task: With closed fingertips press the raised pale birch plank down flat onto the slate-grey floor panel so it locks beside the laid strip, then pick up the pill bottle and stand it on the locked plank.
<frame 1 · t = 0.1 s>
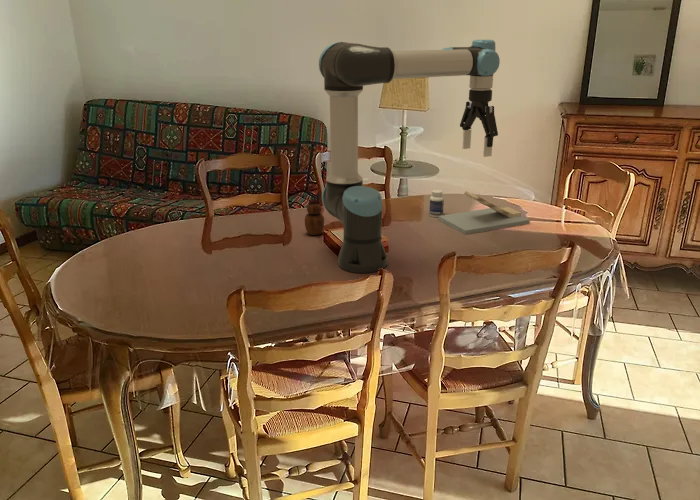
hand: (476, 152, 203), 28 cm above the table, fingers open, 13 cm apart
wooden figurine: (314, 234, 210), on the table
pill bottle: (435, 215, 228), on the table
floor panel: (483, 221, 221), on the table
plank: (488, 204, 219), point 7 cm above the table, hinge at 30.0°
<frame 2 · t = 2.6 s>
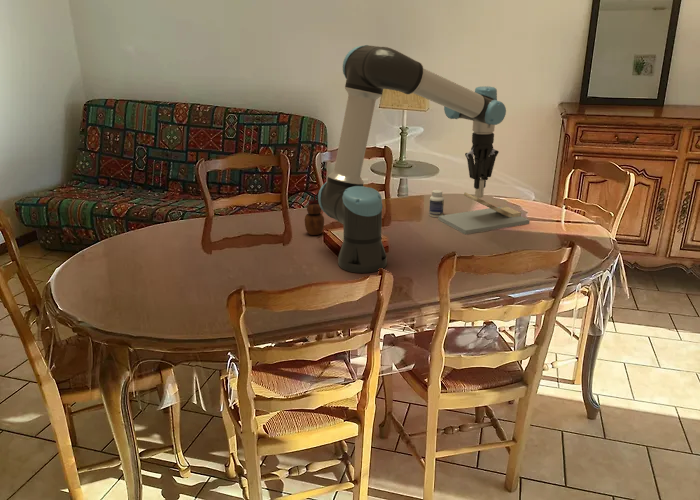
hand: (479, 196, 216), 10 cm above the table, fingers closed
plank: (487, 204, 219), point 6 cm above the table, hinge at 28.3°, touching gripper
everything else where it was.
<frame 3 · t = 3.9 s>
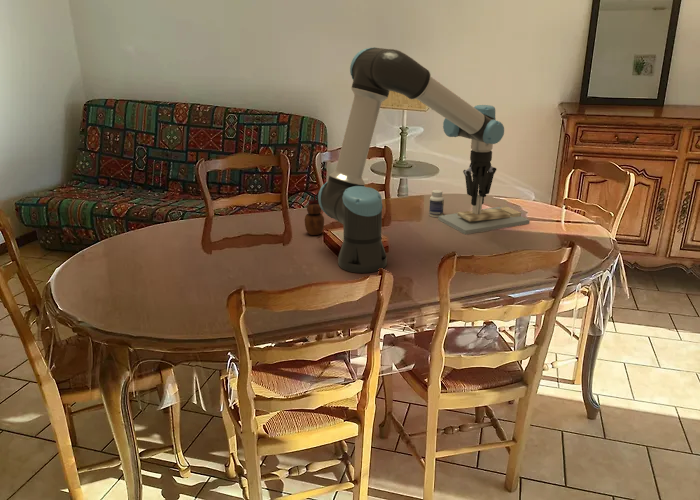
hand: (476, 213, 218), 4 cm above the table, fingers closed, pressing on plank
plank: (483, 214, 220), point 3 cm above the table, hinge at 3.2°, touching gripper
everything else where it was.
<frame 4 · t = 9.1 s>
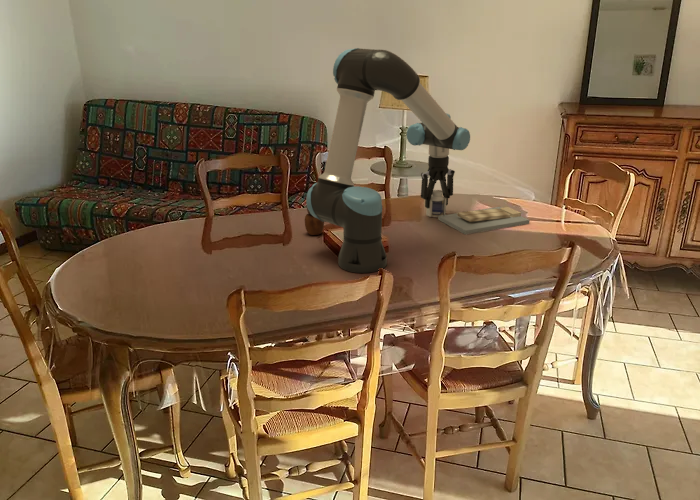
hand: (436, 214, 228), 0 cm above the table, fingers open, 5 cm apart
pill bottle: (436, 215, 228), on the table, touching gripper
plank: (483, 214, 220), point 3 cm above the table, hinge at 2.8°
everything else where it was.
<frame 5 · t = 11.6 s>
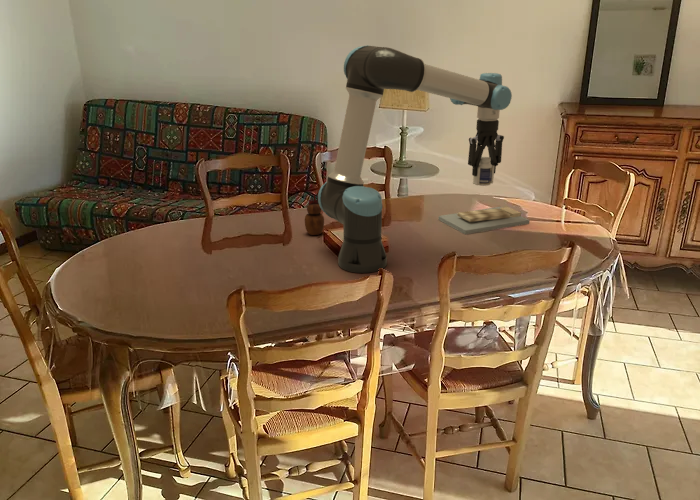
hand: (483, 183, 215), 15 cm above the table, fingers closed on pill bottle, 5 cm apart
pill bottle: (483, 184, 215), point 14 cm above the table, touching gripper
everything else where it was.
when the fingers open (4 cm above the table, at t = 13.8 s): pill bottle stays where it is, resting on plank.
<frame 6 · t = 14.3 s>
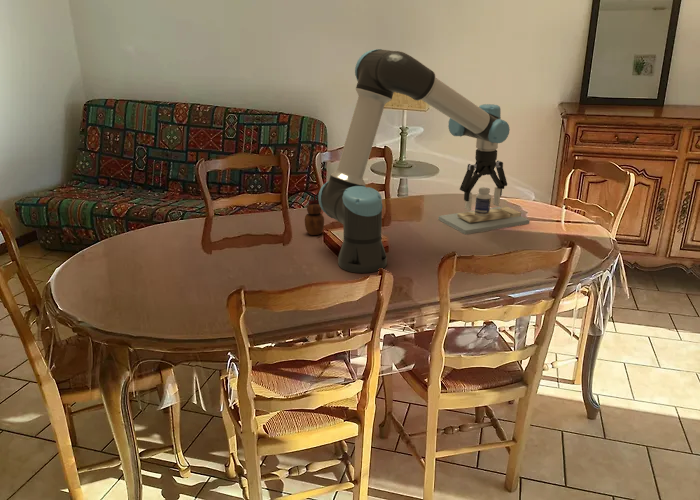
hand: (482, 207, 218), 6 cm above the table, fingers open, 12 cm apart
pill bottle: (481, 214, 219), point 3 cm above the table, touching plank
plank: (483, 215, 220), point 3 cm above the table, hinge at 1.8°, touching pill bottle
everything else where it was.
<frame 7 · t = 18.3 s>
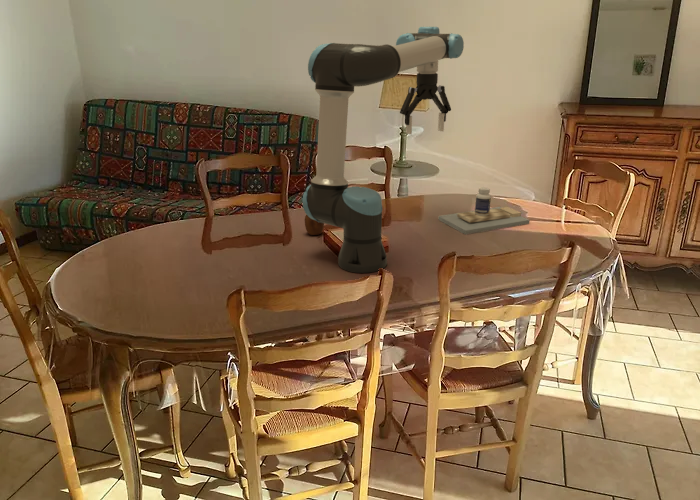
hand: (424, 132, 219), 32 cm above the table, fingers open, 13 cm apart
nothing on the table moved.
at the end: plank at +2° (first picture: +30°); pill bottle inside the target area (0.5 cm from its centre), point 3.0 cm above the table; pill bottle tilted 2° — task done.
